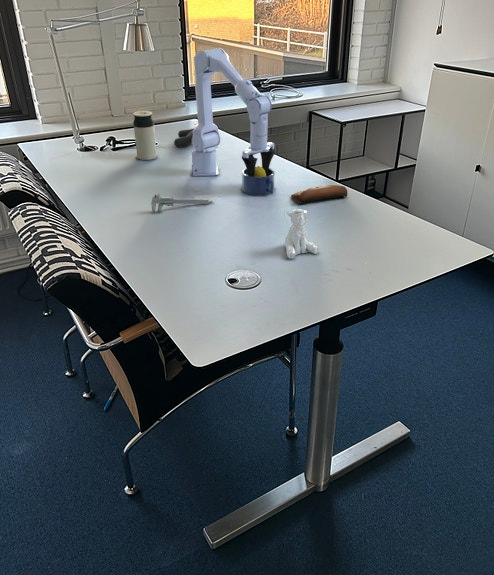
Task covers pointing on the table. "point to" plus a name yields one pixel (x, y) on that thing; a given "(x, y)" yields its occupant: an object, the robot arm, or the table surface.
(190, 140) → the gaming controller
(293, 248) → the sitting furry creature
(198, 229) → the table surface
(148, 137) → the travel mug
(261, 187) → the blue mug
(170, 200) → the caliper
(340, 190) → the sunglasses case
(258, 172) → the lemon
